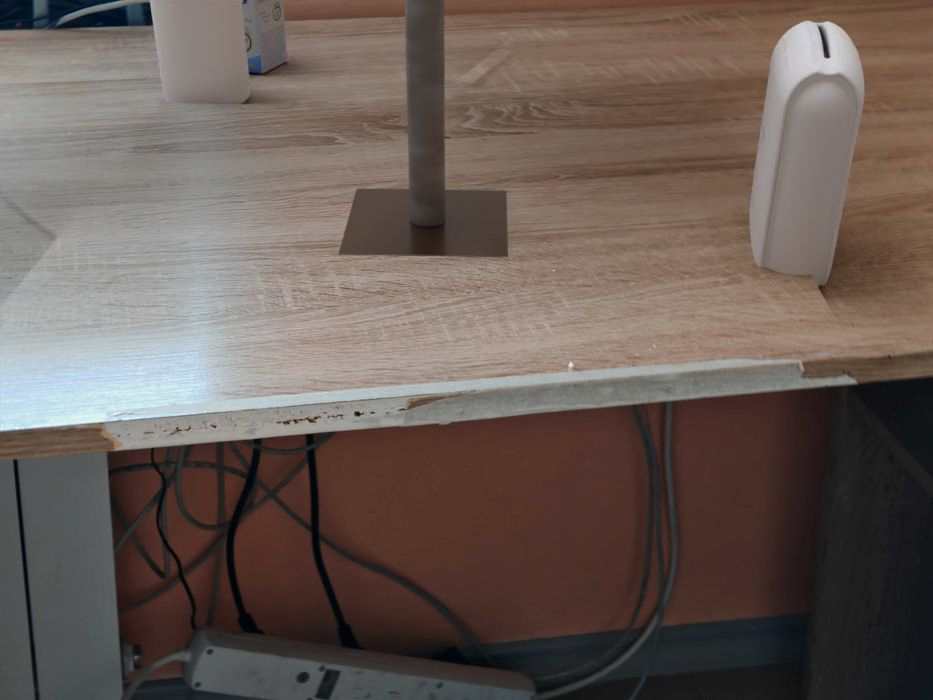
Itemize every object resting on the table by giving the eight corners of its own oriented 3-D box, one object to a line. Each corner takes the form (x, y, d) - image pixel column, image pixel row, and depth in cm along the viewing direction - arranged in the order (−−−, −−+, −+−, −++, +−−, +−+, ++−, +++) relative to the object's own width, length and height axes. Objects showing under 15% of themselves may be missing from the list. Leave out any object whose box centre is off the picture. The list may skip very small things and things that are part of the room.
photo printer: (743, 212, 65) (774, 1, 59) (817, 218, 64) (856, 5, 58) (747, 291, 56) (784, 53, 50) (833, 298, 56) (882, 59, 49)
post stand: (339, 274, 58) (318, -62, 49) (357, 206, 65) (342, -94, 57) (507, 276, 58) (517, -60, 49) (506, 208, 65) (514, -92, 56)
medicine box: (179, 65, 90) (165, -43, 86) (208, 51, 94) (196, -54, 89) (263, 75, 88) (253, -36, 83) (289, 61, 92) (281, -46, 87)
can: (191, 121, 78) (168, -53, 72) (149, 99, 83) (124, -67, 76) (267, 102, 82) (252, -64, 76) (223, 82, 86) (205, -77, 80)
